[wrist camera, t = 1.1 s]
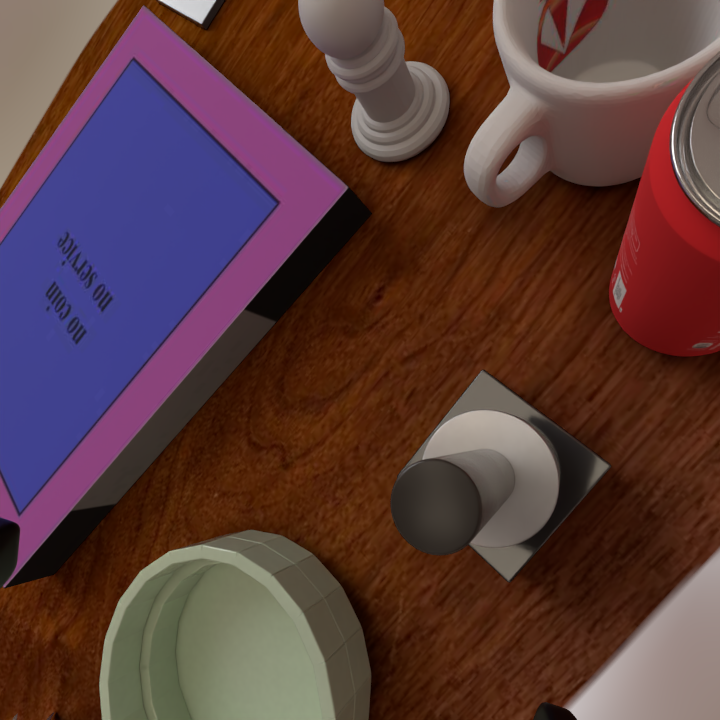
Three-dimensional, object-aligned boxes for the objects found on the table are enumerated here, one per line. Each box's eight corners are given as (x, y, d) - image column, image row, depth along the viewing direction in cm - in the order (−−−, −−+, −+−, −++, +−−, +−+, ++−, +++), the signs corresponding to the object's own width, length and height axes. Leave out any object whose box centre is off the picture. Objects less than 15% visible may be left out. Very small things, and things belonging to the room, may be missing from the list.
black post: (587, 467, 18) (611, 502, 9) (506, 560, 19) (451, 682, 10) (484, 388, 20) (418, 350, 11) (414, 476, 21) (295, 510, 11)
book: (348, 187, 23) (3, 588, 28) (371, 213, 25) (53, 574, 31) (143, 5, 30) (-96, 346, 36) (178, 40, 33) (-49, 352, 39)
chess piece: (398, 185, 25) (318, 64, 17) (337, 131, 27) (238, 0, 19) (473, 103, 24) (426, -68, 16) (404, 53, 26) (331, -122, 18)
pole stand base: (608, 462, 20) (612, 466, 18) (514, 570, 20) (509, 584, 19) (489, 373, 22) (482, 368, 20) (409, 473, 23) (395, 477, 21)
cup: (551, 293, 21) (544, 221, 14) (436, 185, 24) (381, 79, 17) (766, 104, 19) (890, -96, 12) (612, 11, 22) (636, -198, 15)
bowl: (430, 670, 21) (398, 728, 17) (271, 852, 23) (207, 945, 19) (258, 479, 26) (200, 487, 22) (137, 640, 28) (62, 677, 23)
